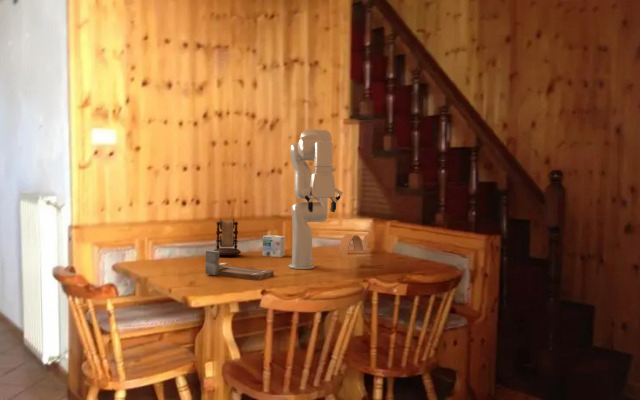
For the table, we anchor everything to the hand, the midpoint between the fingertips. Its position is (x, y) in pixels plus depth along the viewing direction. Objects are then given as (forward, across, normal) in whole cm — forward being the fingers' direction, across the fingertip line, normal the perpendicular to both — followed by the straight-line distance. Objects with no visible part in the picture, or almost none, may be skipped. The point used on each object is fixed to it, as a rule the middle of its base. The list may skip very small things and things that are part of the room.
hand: (321, 211), depth 277 cm
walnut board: (+31, +28, -28) cm, 50 cm away
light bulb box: (+31, 0, -82) cm, 88 cm away
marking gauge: (+30, +38, -31) cm, 57 cm away
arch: (+31, -47, -92) cm, 108 cm away
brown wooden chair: (+31, +25, -85) cm, 94 cm away
